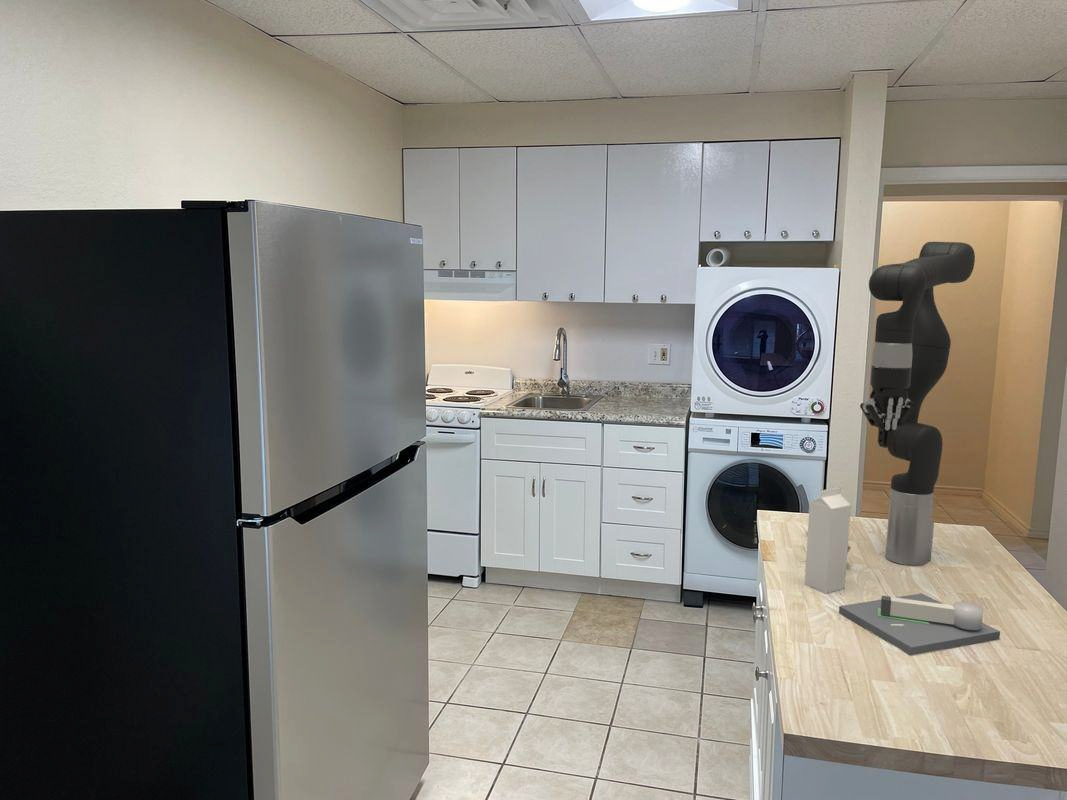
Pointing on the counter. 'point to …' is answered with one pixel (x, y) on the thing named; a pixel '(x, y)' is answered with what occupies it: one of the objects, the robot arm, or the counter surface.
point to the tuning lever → (935, 612)
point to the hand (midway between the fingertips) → (885, 446)
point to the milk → (827, 542)
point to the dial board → (914, 628)
